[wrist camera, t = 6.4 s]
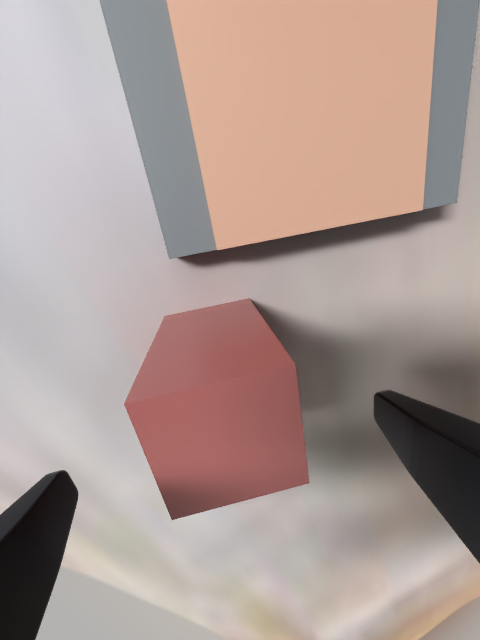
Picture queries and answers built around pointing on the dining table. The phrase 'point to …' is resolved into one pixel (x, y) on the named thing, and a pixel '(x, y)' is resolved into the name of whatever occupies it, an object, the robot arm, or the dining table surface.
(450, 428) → the robot arm
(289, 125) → the panel
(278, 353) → the red rectangular block
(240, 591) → the dining table surface
